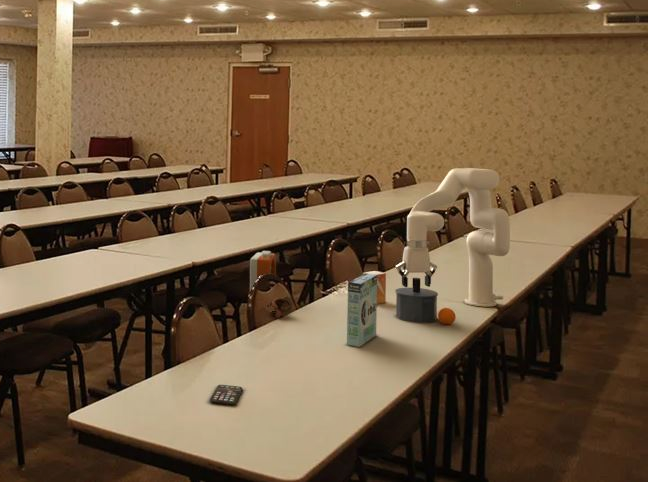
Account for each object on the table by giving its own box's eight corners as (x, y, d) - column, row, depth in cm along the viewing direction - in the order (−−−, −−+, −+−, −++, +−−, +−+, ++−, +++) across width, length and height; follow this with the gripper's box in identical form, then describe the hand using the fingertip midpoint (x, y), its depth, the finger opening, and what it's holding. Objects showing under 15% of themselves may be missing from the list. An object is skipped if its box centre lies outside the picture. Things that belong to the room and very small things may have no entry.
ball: (450, 322, 328) (450, 306, 328) (458, 326, 321) (458, 309, 321) (434, 322, 327) (435, 306, 327) (443, 326, 321) (443, 310, 321)
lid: (425, 290, 343) (425, 274, 343) (445, 298, 327) (445, 281, 327) (388, 290, 341) (388, 274, 341) (407, 299, 325) (407, 282, 325)
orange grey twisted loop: (291, 314, 342) (295, 299, 337) (286, 329, 334) (290, 314, 330) (263, 304, 345) (266, 290, 341) (257, 319, 337) (261, 304, 333)
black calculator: (242, 386, 248) (234, 403, 234) (242, 389, 248) (234, 405, 234) (218, 384, 250) (209, 400, 236) (218, 386, 250) (209, 402, 236)
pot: (421, 311, 346) (421, 287, 345) (447, 323, 325) (447, 298, 325) (386, 312, 344) (387, 288, 344) (410, 324, 323) (410, 299, 323)
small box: (374, 304, 357) (374, 274, 357) (362, 302, 362) (362, 272, 362) (386, 302, 361) (386, 272, 361) (374, 299, 366) (374, 270, 366)
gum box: (364, 333, 311) (364, 272, 310) (377, 335, 308) (378, 274, 307) (346, 345, 295) (346, 281, 295) (360, 347, 292) (360, 283, 292)
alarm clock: (269, 301, 363) (269, 254, 363) (249, 299, 366) (249, 253, 366) (275, 292, 380) (276, 248, 380) (256, 291, 383) (257, 247, 383)
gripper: (432, 242, 339) (431, 284, 339) (392, 243, 337) (391, 284, 337) (441, 245, 331) (441, 287, 331) (400, 246, 329) (400, 288, 329)
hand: (416, 286), depth 334 cm, fingers open, 9 cm apart
